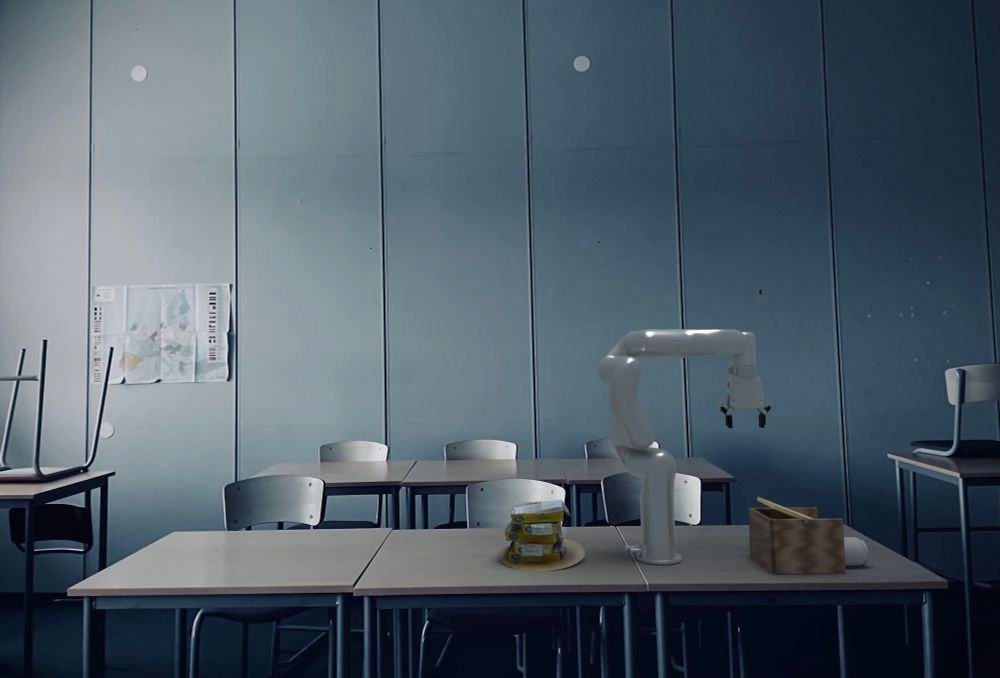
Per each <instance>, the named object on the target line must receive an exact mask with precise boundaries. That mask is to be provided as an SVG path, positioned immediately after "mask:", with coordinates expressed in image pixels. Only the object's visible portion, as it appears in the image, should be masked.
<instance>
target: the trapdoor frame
mask: <svg viewBox="0 0 1000 678" xmlns="http://www.w3.org/2000/svg"><path fill="white" fill-rule="evenodd" d="M787 508H788V509H791V510H793V511H796V512H798V513H801V514H803V515H806V516H809V517H811V518H813V519H798V518H796V517H793V516H791V515H788V514H786V513H783V512H781V511H778V510H775V509H773V508H771V507H749V508H748V527H749V528H748V532H749V555H750V556H749V557H750V558H751V559H752V560H753V561H754V562H756V563H757V564H758V565H759V566H761V567H762V568H763V569H765V570H766V571H767V572H769V573H770V574H772V575H843V574H844V575H845V574H846V573H847V572H846V571H847V570H846V568H847V567H846V566H845V548H844V537H845V536H844V535H845V534H844V533H845V531H844V519H842V518H818V508H817V507H815V506H814V507H810V506H809V507H803V506H802V507H787Z"/></svg>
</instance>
